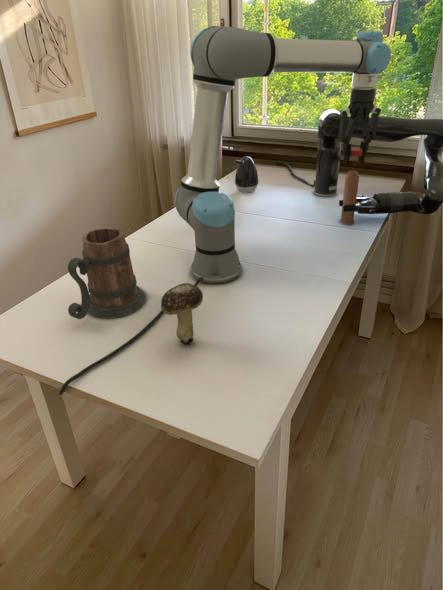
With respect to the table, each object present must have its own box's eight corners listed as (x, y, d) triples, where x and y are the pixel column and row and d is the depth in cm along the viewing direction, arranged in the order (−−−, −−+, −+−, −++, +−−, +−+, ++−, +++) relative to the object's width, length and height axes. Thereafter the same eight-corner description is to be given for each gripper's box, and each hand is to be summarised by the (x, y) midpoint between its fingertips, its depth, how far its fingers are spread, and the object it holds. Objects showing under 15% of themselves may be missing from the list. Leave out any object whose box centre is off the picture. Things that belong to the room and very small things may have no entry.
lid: (356, 157, 148) (357, 151, 147) (344, 154, 151) (345, 149, 150) (364, 154, 150) (365, 148, 149) (352, 152, 154) (353, 146, 153)
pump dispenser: (230, 190, 197) (229, 155, 189) (251, 186, 201) (251, 151, 193) (241, 196, 189) (240, 161, 181) (262, 192, 193) (263, 157, 185)
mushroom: (205, 329, 111) (202, 278, 102) (206, 352, 103) (202, 298, 95) (168, 331, 110) (161, 279, 102) (165, 354, 103) (158, 300, 95)
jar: (340, 224, 163) (346, 173, 152) (340, 219, 166) (346, 169, 156) (353, 224, 161) (359, 174, 151) (353, 219, 165) (359, 170, 155)
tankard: (113, 279, 133) (101, 217, 123) (158, 293, 126) (149, 228, 115) (52, 320, 116) (32, 252, 106) (99, 339, 109) (83, 267, 98)
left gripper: (342, 91, 135) (334, 167, 147) (395, 87, 138) (383, 162, 150) (331, 88, 141) (324, 161, 154) (383, 84, 144) (372, 157, 157)
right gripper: (393, 220, 157) (346, 223, 156) (378, 205, 169) (334, 208, 168) (397, 199, 153) (348, 202, 152) (382, 186, 165) (336, 189, 164)
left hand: (353, 162), depth 152 cm, fingers closed on lid, 5 cm apart
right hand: (341, 205), depth 160 cm, fingers closed on jar, 4 cm apart
